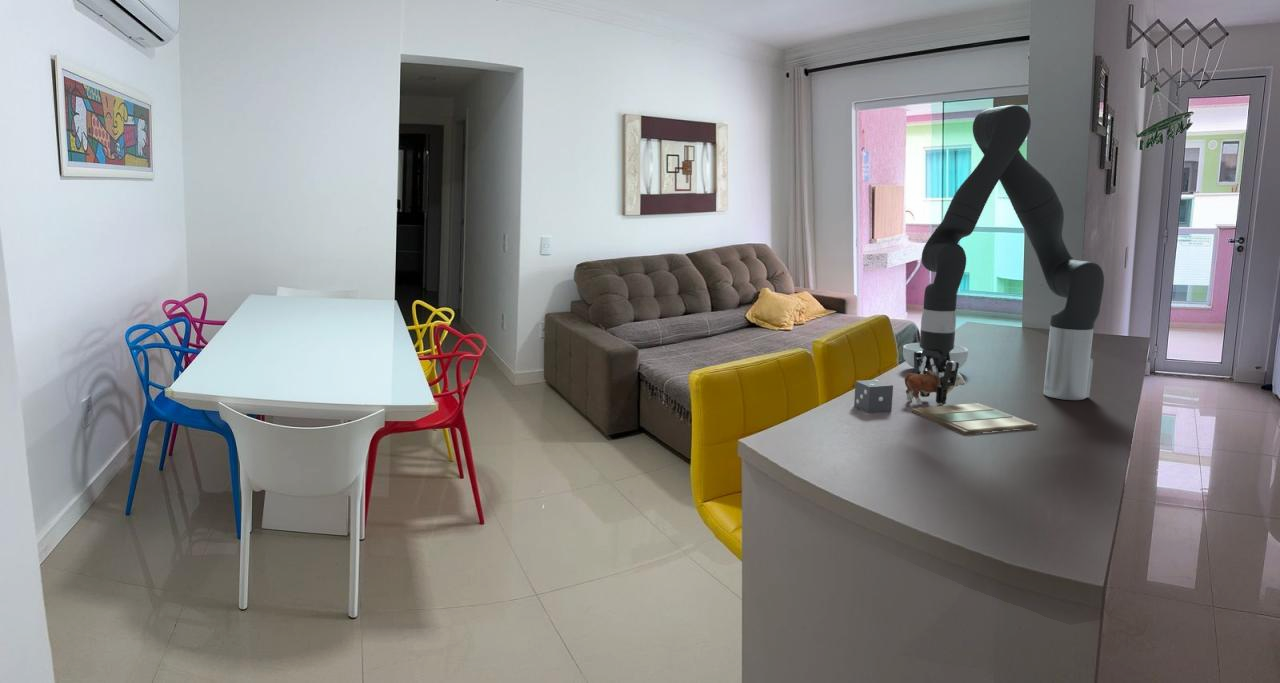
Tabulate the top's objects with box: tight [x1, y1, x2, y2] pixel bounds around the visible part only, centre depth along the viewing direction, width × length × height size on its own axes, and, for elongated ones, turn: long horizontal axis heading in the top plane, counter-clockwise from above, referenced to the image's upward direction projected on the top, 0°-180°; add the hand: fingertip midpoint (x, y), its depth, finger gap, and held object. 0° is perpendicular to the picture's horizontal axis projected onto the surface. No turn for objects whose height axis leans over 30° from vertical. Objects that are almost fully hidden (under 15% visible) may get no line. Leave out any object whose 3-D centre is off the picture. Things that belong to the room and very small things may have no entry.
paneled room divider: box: [911, 402, 1039, 436], centre depth 169 cm, size 18×18×1 cm
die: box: [853, 379, 894, 414], centre depth 177 cm, size 6×6×6 cm
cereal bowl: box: [902, 342, 969, 374], centre depth 216 cm, size 17×17×7 cm
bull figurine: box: [904, 371, 966, 406], centre depth 181 cm, size 4×13×8 cm, turn 79°
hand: (932, 399), depth 182 cm, fingers closed on bull figurine, 5 cm apart
